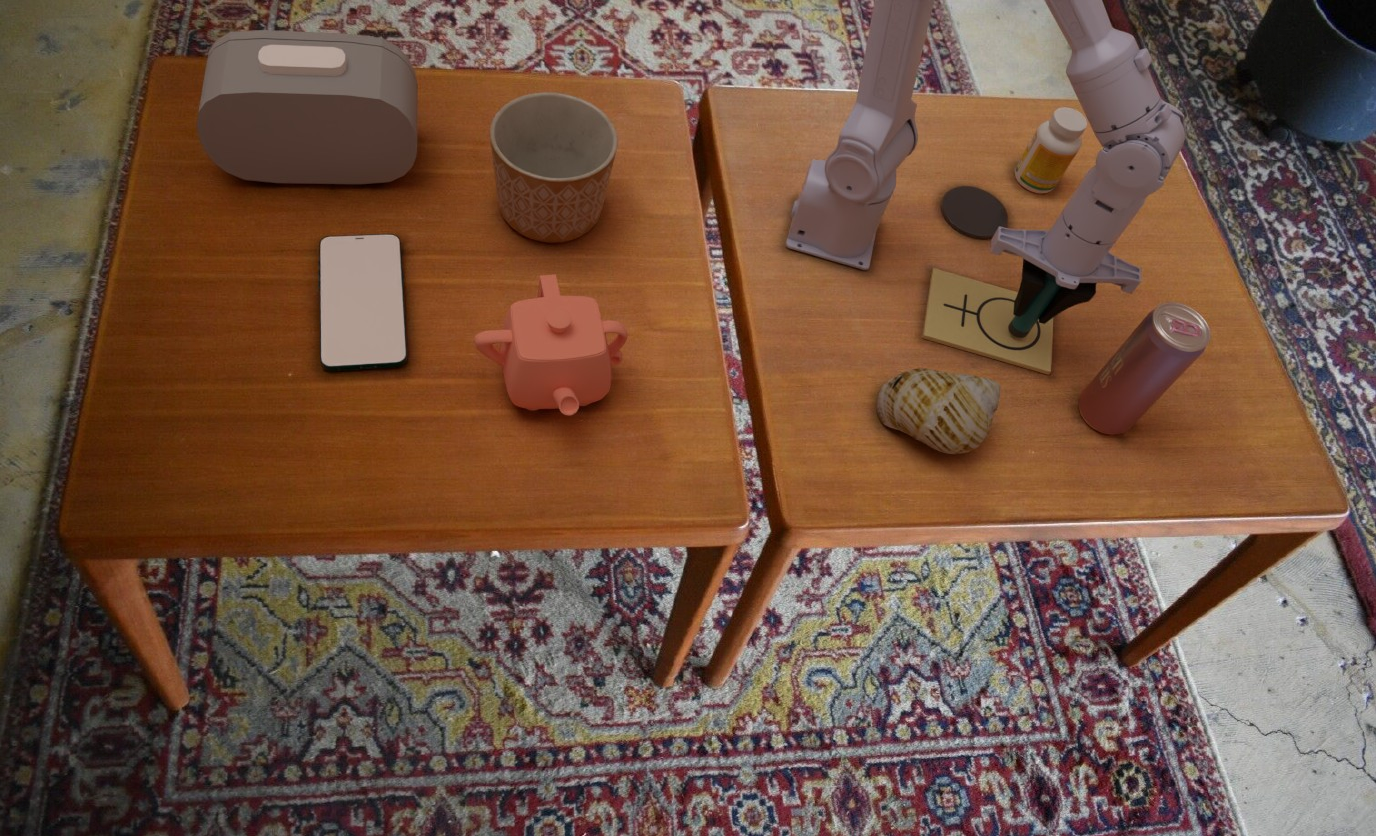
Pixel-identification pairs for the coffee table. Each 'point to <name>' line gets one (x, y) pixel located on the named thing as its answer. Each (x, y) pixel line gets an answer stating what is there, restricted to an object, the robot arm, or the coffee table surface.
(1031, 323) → the dark green cylinder
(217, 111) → the alarm clock
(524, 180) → the planter
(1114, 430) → the beverage can
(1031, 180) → the supplement bottle
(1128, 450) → the coffee table surface
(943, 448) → the seashell
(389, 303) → the smartphone
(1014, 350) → the sign with female symbol
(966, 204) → the coaster
